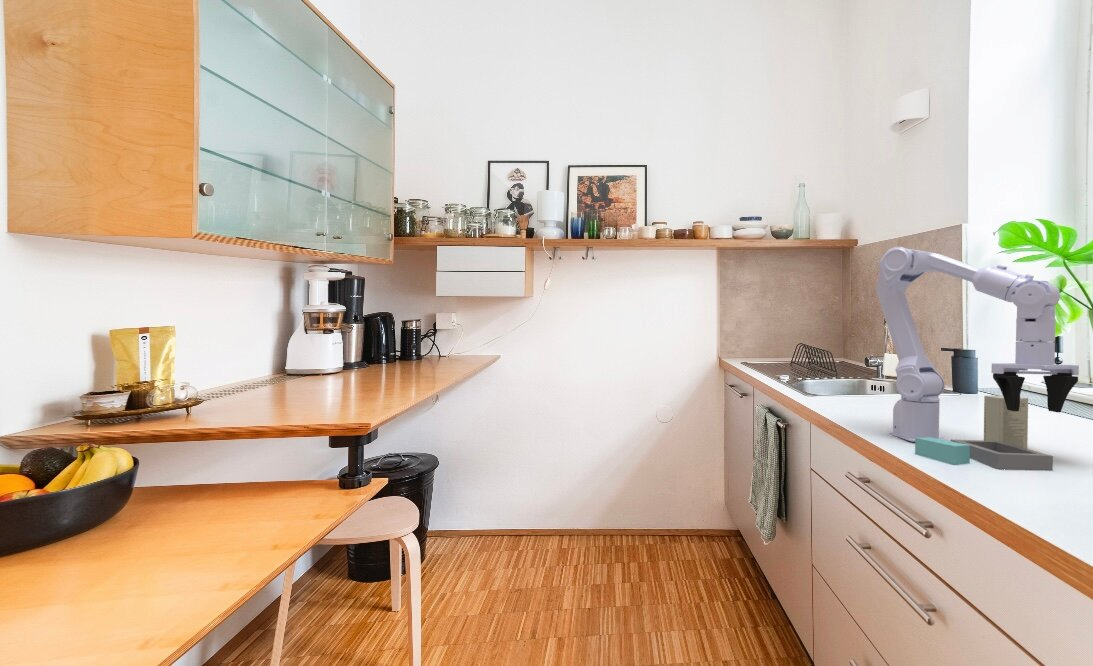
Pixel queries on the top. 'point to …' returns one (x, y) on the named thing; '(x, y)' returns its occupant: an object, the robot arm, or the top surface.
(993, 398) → the skincare box
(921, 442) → the peg
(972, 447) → the socket block
